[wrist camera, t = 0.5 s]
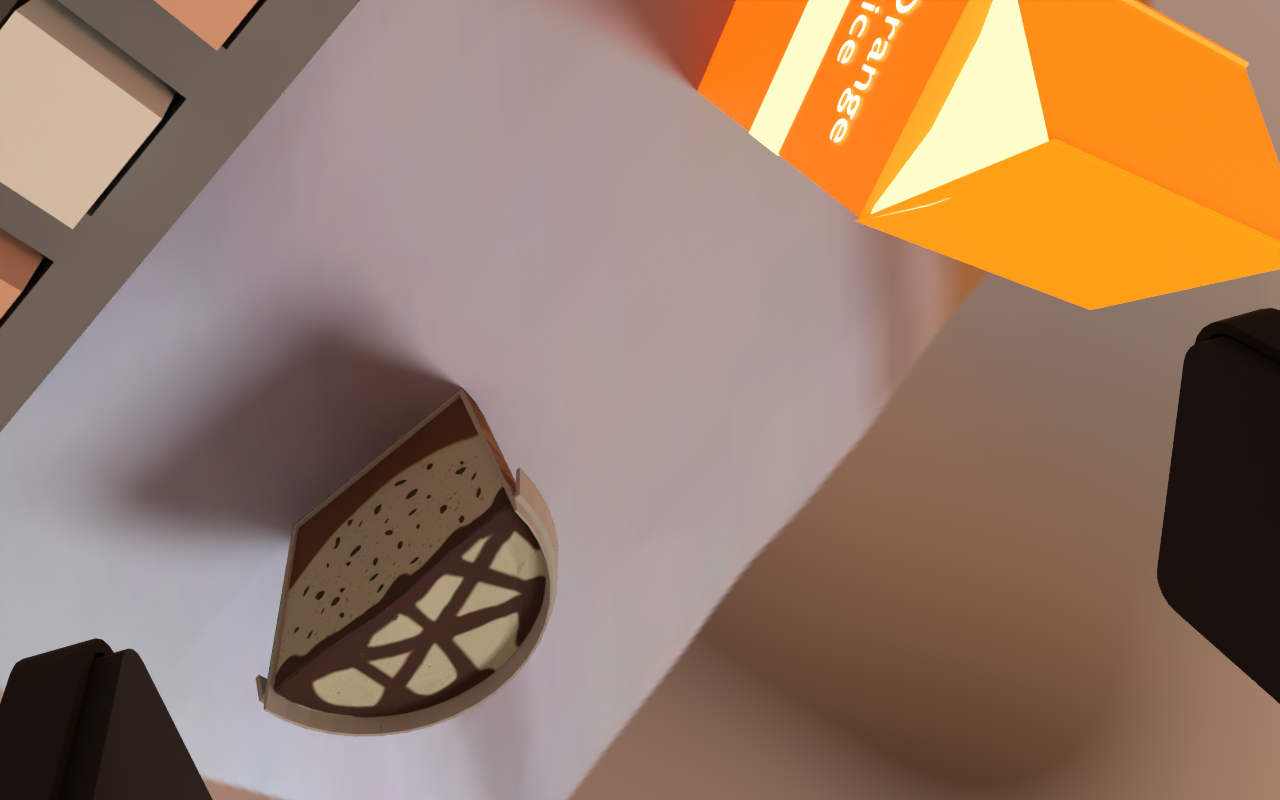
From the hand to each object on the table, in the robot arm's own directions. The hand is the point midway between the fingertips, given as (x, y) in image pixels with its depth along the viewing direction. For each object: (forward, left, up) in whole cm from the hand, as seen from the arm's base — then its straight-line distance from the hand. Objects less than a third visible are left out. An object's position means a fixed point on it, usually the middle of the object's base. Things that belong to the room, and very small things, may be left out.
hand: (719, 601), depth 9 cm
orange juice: (-10, +12, -32) cm, 36 cm away
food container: (+15, +13, -32) cm, 38 cm away
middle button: (+9, -7, -31) cm, 33 cm away
